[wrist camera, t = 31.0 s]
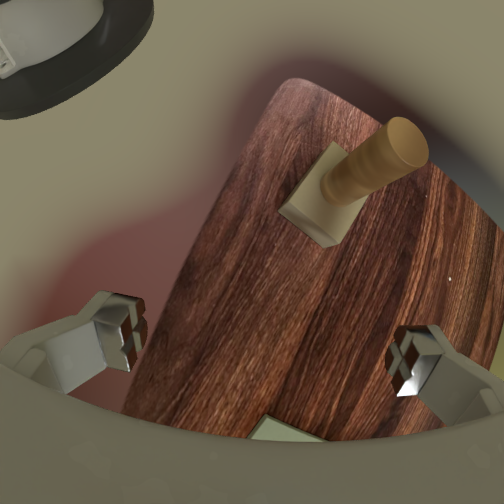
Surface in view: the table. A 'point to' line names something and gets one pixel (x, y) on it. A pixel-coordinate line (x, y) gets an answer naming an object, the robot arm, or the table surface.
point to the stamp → (352, 180)
